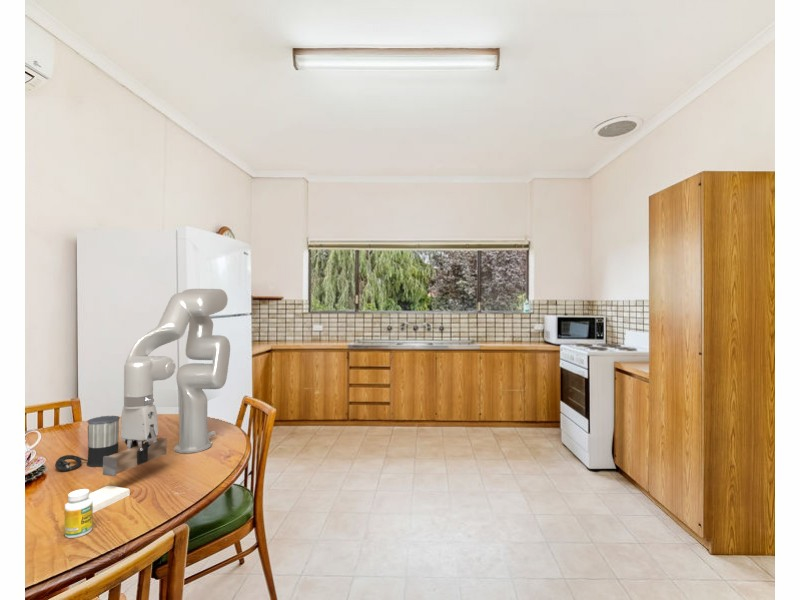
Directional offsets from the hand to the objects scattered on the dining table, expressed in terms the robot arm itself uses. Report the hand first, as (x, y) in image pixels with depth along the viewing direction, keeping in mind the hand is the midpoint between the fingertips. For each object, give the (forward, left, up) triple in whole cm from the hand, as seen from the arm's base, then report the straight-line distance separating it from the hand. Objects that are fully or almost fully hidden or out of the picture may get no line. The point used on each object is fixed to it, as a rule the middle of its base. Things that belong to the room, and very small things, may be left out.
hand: (138, 461), depth 128 cm
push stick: (0, 0, -1) cm, 1 cm away
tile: (+6, 0, -6) cm, 9 cm away
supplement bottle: (+25, +10, -7) cm, 28 cm away
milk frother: (-7, -29, -7) cm, 31 cm away
